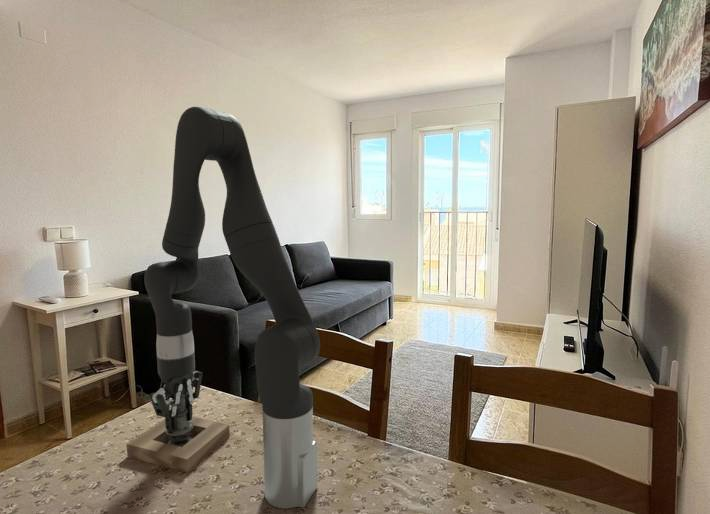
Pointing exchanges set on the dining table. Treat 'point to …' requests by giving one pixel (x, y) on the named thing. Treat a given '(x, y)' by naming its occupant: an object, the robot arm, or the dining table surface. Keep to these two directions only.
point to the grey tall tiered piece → (181, 426)
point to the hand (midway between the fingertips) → (179, 424)
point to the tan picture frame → (179, 458)
